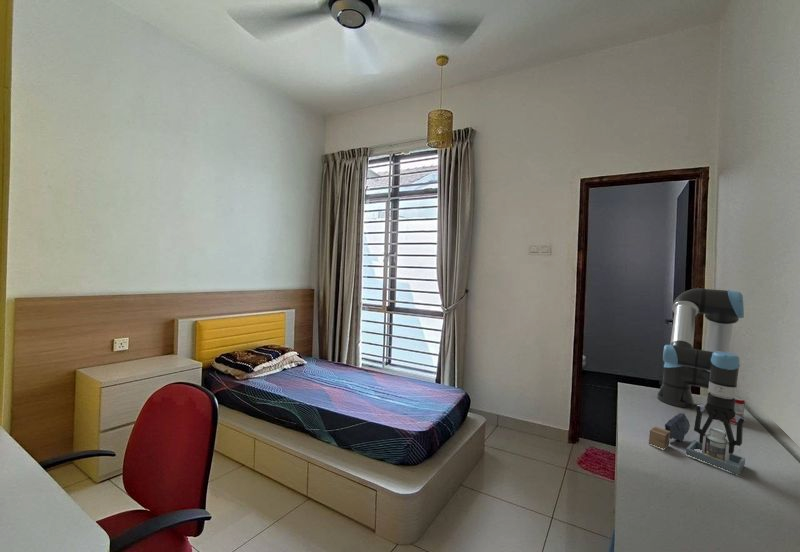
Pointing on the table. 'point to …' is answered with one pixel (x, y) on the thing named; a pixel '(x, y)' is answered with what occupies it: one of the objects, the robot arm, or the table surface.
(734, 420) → the soda can
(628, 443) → the table surface
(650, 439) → the brown cube
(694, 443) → the tray
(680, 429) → the stone
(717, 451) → the pill bottle
